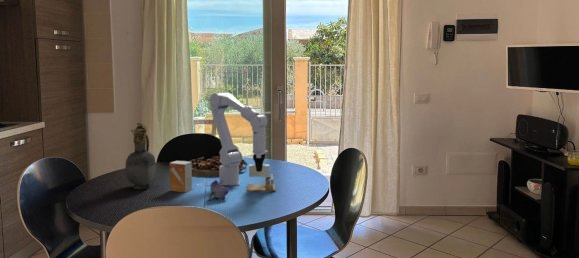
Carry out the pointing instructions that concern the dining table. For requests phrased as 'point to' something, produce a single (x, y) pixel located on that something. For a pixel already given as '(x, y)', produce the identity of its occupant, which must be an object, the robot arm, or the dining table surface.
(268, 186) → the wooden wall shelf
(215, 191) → the flower
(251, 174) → the gray rectangular block
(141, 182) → the pitcher
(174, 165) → the small box
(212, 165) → the food dish
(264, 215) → the dining table surface
